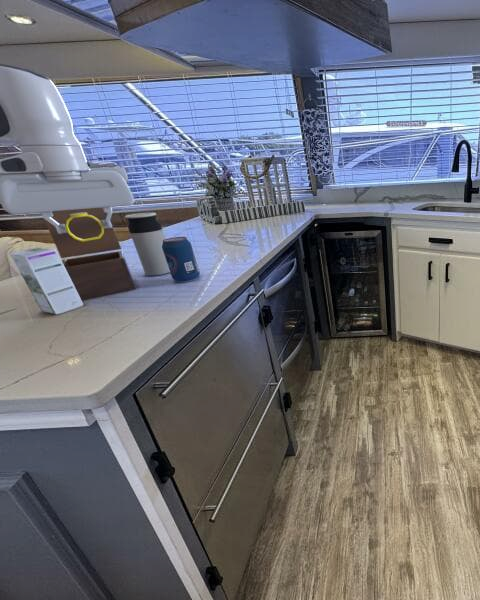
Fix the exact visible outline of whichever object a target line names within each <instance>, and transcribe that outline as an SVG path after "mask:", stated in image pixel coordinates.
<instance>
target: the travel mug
mask: <svg viewBox="0 0 480 600" xmlns="http://www.w3.org/2000/svg"><path fill="white" fill-rule="evenodd" d="M124 218H125V219H126V220H127V221H128V226H127V229H128V233H129V234H130V237H131V239H132V242H133V245H134V247H135V248H134V249H135V250H136V253H137V255H138V258H139V262H140V263H141V266H142V270H143V272H144V275H145V276H150V277H156V276H163V275H166V274H171V273H170V270H169V267H168V264H167V261H166V258H165V255H164V252H163V249H162V244H163V240H164V239H166V236H165V233H164V230H163V227H162V224H161V223H160V222H159V220H158V219H157V213H156V212H141V213H131V214H127V215H124Z"/></svg>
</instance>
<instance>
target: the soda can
mask: <svg viewBox="0 0 480 600" xmlns="http://www.w3.org/2000/svg"><path fill="white" fill-rule="evenodd" d="M162 249H163V252H164V255H165V258H166V261H167V264H168V267H169V270H170V273H169V274H170V275H171V278H172V279H173V280H174V281H175V282H176V283H178V284H179V283H189V282H193V281H196V280H198V279H199V278H200V274H201V271H200V269H199V266H198V262H197V259H196V255H195V252H194V250H193V245H192V243H191V242H190V240H189V239H188V238H187V236H176V237H175V236H174V237H169V238H165V239H164V240H163V244H162Z"/></svg>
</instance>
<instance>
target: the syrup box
mask: <svg viewBox="0 0 480 600" xmlns="http://www.w3.org/2000/svg"><path fill="white" fill-rule="evenodd" d="M9 255H10V257H11V259H12V260H13V262H14V264H15V267H16V268H17V270H18V271H19V274H20V276H21V277H22V279H23V280H24V282H25V284H26V286H27V288H28V289H29V291H30V293H31V296H33V299H34V300H35V302H36V304H37V306H38V307H39V309H40V311H41V312H42V313H46V314H52V315H60V314H63V313H66V312H70V311H72V310H75V309H78V308H81V307H84V303H83V300H81V298H80V296H79V294H78V292H77V290H76V288H75V286H74V284H73V282H72V280H71V278H70V276H69V274H68V272H67V270H66V268H65V266H64V264H63V263H62V260H63V259H62V258H61V256H60V254H59V252H58V249H57V248H54V247H53V248H51V247H35V248H29V249H28V248H27V249H23V250H19V251H16V252H12V253H9Z"/></svg>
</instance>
